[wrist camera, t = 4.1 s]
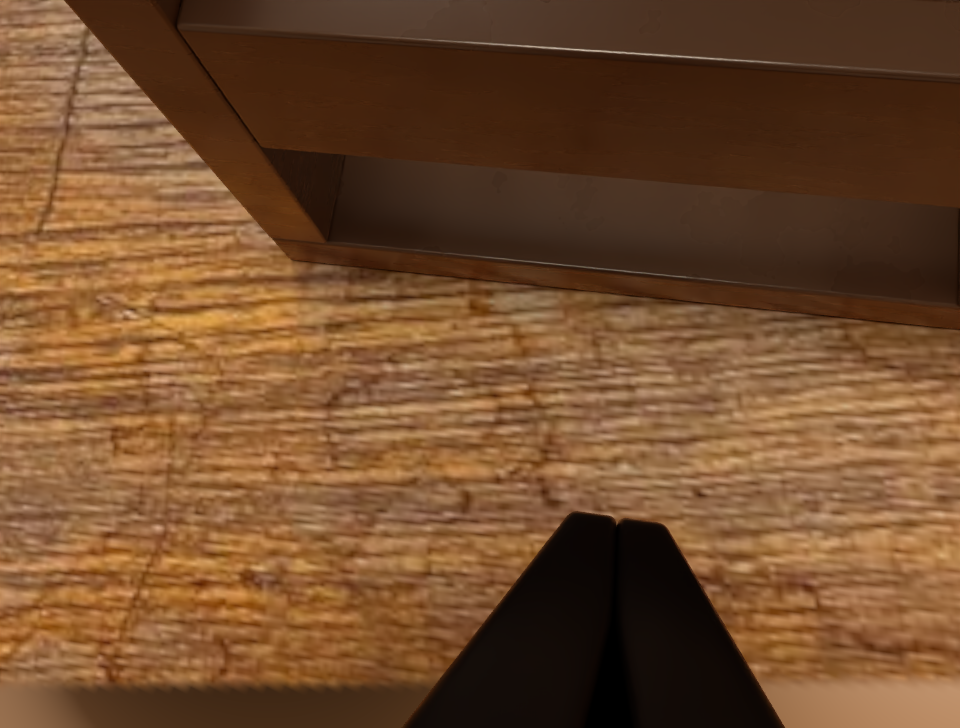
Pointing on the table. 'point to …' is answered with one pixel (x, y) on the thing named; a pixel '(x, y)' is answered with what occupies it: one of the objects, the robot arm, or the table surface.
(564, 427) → the table surface
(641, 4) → the walnut rack
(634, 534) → the robot arm
